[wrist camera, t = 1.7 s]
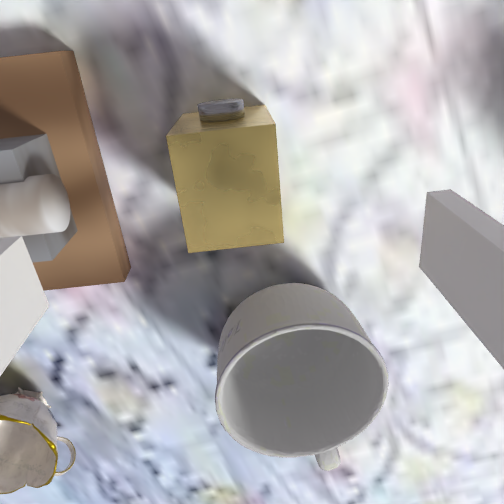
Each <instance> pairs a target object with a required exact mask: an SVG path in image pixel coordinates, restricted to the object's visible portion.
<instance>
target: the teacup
mask: <svg viewBox="0 0 504 504" xmlns="http://www.w3.org/2000/svg"><path fill="white" fill-rule="evenodd" d="M388 384H389V382H388V371H387V367H386V365H385V362H384V360H383V358H382V356H381V354H380V353H379V351H378V350H377V349H376V348H375V346H374V345H373V344H372V343H371V341H370V340H369V338H368V336H367V335H366V333H365V331H364V330H363V328H362V327H361V325H360V324H359V322H358V320H357V319H356V318H355V316H354V315H353V314H352V312H351V311H350V310H349V309H348V307H347V306H346V305H345V304H344V303H343V302H342V301H341V300H339V299H338V298H337V297H336V296H334V295H333V294H331V293H329V292H328V291H326V290H323V289H321V288H319V287H316V286H312V285H308V284H302V283H285V284H278V285H273V286H270V287H267V288H264V289H262V290H260V291H258V292H256V293H254V294H252V295H250V296H249V297H247V298H246V299H245V300H244V301H242V302H241V303H240V304H239V305H238V306H237V307H236V308H235V310H234V311H233V312H232V313H231V315H230V316H229V318H228V319H227V321H226V323H225V325H224V328H223V330H222V333H221V337H220V341H219V348H218V360H217V387H216V393H215V404H216V412H217V414H218V417H219V420H220V423H221V425H222V426H223V427H224V429H225V431H227V432H228V433H229V435H230V436H232V438H233V439H234V440H235V441H237V442H238V443H239V444H241V445H242V446H244V447H245V448H247V449H250V450H252V451H255V452H257V453H260V454H264V455H268V456H275V457H301V456H308V455H314V454H315V457H316V460H317V462H318V465H319V467H320V468H321V469H322V470H324V471H329V470H332V469H335V468H337V467H338V466H339V465H340V462H341V461H340V456H339V453H338V449H337V447H339V446H341V445H343V444H344V443H346V442H348V441H349V440H351V439H353V438H354V437H356V436H357V435H359V434H360V433H361V432H363V431H364V430H365V429H366V428H367V427H368V426H369V425H370V424H371V423H372V421H373V420H374V419H375V418H376V416H377V415H378V413H379V412H380V410H381V408H382V406H383V404H384V401H385V399H386V395H387V390H388Z"/></svg>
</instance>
